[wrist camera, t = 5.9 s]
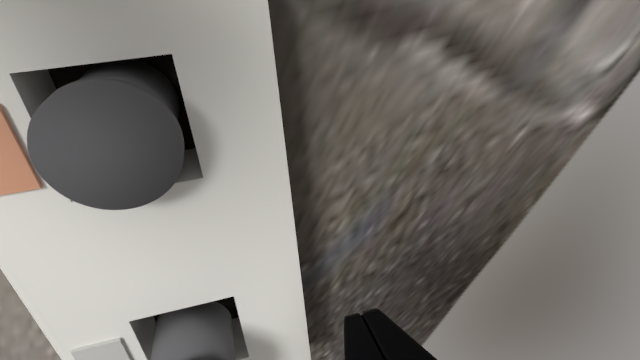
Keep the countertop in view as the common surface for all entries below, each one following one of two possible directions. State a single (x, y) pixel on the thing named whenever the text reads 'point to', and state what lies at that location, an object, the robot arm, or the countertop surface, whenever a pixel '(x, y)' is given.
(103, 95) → the near button
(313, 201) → the countertop surface
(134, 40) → the panel
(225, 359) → the far button
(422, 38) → the countertop surface
